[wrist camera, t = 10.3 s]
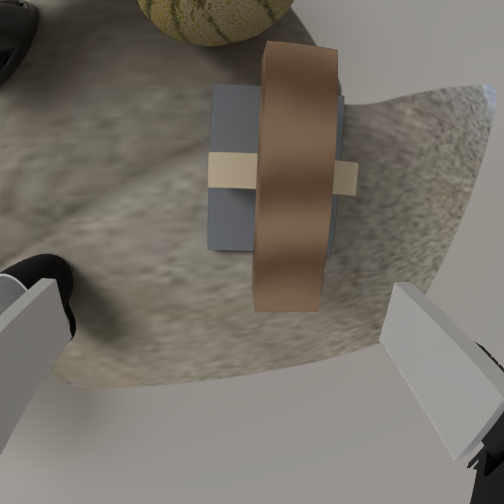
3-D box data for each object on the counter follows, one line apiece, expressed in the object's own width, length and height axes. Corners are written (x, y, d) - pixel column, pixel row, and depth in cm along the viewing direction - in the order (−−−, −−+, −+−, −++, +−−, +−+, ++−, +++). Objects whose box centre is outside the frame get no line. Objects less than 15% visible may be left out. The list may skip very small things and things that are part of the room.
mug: (23, 266, 32) (-18, 296, 23) (54, 231, 31) (6, 258, 22) (71, 329, 36) (40, 371, 26) (107, 304, 35) (74, 348, 25)
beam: (261, 61, 21) (267, 40, 16) (319, 67, 21) (337, 50, 16) (251, 284, 27) (255, 311, 22) (304, 284, 27) (317, 311, 23)
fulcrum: (214, 86, 27) (207, 67, 21) (341, 97, 28) (366, 85, 21) (208, 246, 33) (201, 270, 26) (328, 250, 34) (349, 273, 27)
